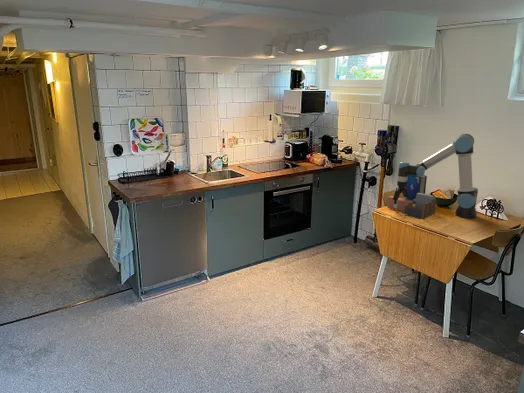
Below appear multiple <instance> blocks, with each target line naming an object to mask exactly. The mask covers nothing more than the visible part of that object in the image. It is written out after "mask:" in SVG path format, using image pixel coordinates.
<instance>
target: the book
mask: <svg viewBox="0 0 524 393" xmlns="http://www.w3.org/2000/svg"><path fill="white" fill-rule="evenodd" d="M427 177H428V176H427V175H425V174H424V175H423V176H416V175H408V179H407V191H408V197H406V200H410V201H413V204H415V203H416V195H417V193H422V194H426V188H427V187H426V186H427ZM403 197H404V196H403V195H402V198H403Z"/></svg>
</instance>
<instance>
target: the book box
mask: <svg viewBox="0 0 524 393" xmlns="http://www.w3.org/2000/svg"><path fill="white" fill-rule="evenodd" d="M393 197H394V195H389V196H388V197H387V205H386V207H387V208H389V207H390V208H389V209H392V208H393V210H396V211H399V210H400V212H403V213H404V210H405V206H410V205H411V206H414V203H413V201H410V200H407V199H403V197H399V198H398V205H397V208H394V200H393Z"/></svg>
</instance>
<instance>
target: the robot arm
mask: <svg viewBox="0 0 524 393" xmlns="http://www.w3.org/2000/svg"><path fill="white" fill-rule="evenodd" d="M474 144H475V138H474V136H472V135H471V134H470V133H462V134H461V135H459V136H458V137H456V138H455V139H454V140H453V141H451V143H450V144H449V145H446V146H445V147H444V148H442V149H440V150H438V151H437V152H436V153H434V154H432V155H430V156H429V157H427V158H425V159H424V160H422V161H420V162H418V163H417V164H415V165H411V164H410V162H407V161H400V162H399V164H398V173H397V183H396V186H397V187H396V188H395V192H394V195H393V196H394V197H393V200H394V208H397V205H398V198H400V196H401V194H402V198H403V199H406V197H408V191H407V179H408V175H416V176H423V175H425V173H426V171H427V170H428V169H430V168H432V167H435V165H437V164H439V163H440V162H442V161H444V160H446V159H448V158H449V157H451V156H453V155H456V156H457V160H458V162H457V163H458V182H459V188H457V199H456V202H457V204H458V206H457V207H456V209H455V212H454V215H455V216H457V217H459V218H464V219H475V218H477V214H478V213H477V208H476V205H477V199H478V194H479V188H477V187H474V186H473V170H472V169H473V166H472V163H473V162H472V155H473V154H474ZM403 196H404V197H403ZM406 200H407V199H406Z"/></svg>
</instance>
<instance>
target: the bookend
mask: <svg viewBox="0 0 524 393" xmlns="http://www.w3.org/2000/svg"><path fill="white" fill-rule="evenodd" d="M403 213H404V214H405V216H407V217H410V218H413V219H416V220H417V219H418V220H422V219H421V216H422V208H420V207H416V206H415V205H413V206H411V205H410V206H405V210H404V212H403Z"/></svg>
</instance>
